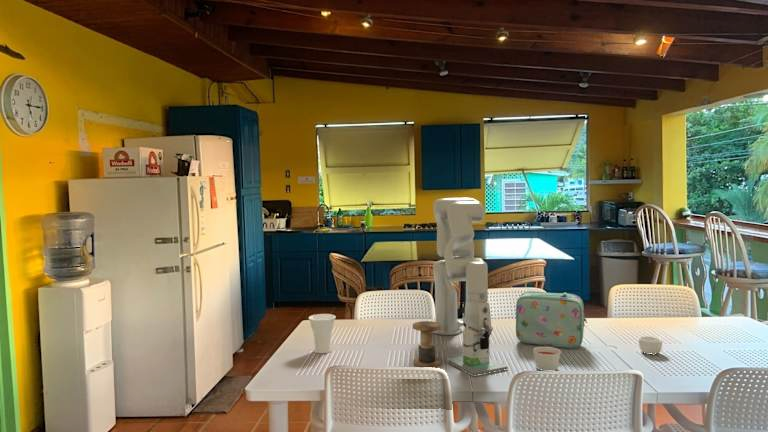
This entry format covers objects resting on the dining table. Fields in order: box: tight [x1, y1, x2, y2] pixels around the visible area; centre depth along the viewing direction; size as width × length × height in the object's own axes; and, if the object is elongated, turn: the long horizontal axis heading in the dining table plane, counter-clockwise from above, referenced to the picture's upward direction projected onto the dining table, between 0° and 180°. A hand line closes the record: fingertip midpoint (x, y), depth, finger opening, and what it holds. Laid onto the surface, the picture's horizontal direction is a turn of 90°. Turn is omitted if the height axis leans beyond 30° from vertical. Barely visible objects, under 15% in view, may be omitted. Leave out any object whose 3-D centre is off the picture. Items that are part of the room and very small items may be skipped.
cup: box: [308, 313, 336, 354], centre depth 207 cm, size 10×10×14 cm
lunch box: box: [515, 290, 588, 349], centre depth 211 cm, size 27×10×21 cm, turn 65°
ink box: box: [462, 328, 490, 366], centre depth 187 cm, size 9×5×12 cm, turn 121°
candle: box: [533, 346, 562, 371], centre depth 184 cm, size 9×9×6 cm
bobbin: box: [412, 320, 442, 368], centre depth 191 cm, size 10×10×14 cm
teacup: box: [638, 335, 663, 354], centre depth 200 cm, size 10×8×5 cm
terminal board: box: [447, 356, 508, 377], centre depth 187 cm, size 14×16×1 cm
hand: (477, 345), depth 187 cm, fingers open, 8 cm apart
